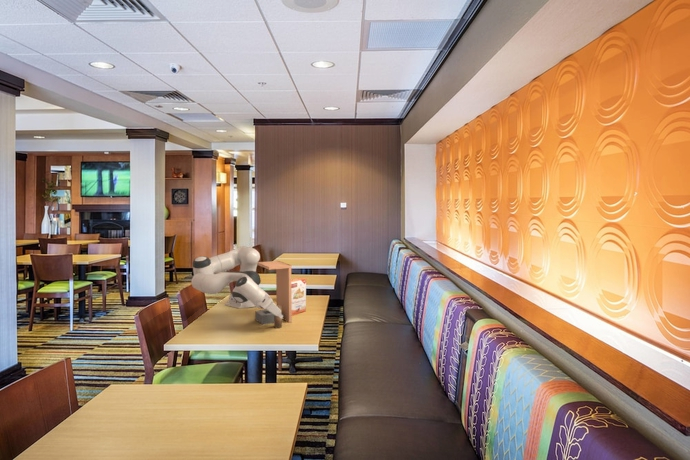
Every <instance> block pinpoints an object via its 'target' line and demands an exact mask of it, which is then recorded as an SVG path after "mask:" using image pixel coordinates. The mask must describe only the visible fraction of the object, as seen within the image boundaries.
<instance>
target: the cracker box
mask: <svg viewBox="0 0 690 460" xmlns="http://www.w3.org/2000/svg"><path fill="white" fill-rule="evenodd" d="M291 296H292V316H294V315H299V314H301V312H302V313H304V311H305V312H306V311H307V310H306V308H307V279H306V278H303V277H299V278H293V279H291Z"/></svg>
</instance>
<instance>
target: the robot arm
mask: <svg viewBox="0 0 690 460" xmlns="http://www.w3.org/2000/svg"><path fill="white" fill-rule="evenodd" d="M260 260H261V254H260V252H259V251H258V250H257V249H256V248H254V247H251V246H250V247H249V246H244V245H243V246H238V247H237V248H234V249H232V250H230V251H227V252H224V253H221V254H217V255H214V256H211V257H208V256H205V255H204V256H198V257H195V258H194V259H193V260H192V270H193V271H192V273H193V277H191V280H190V281H191V286H192V288H194V289H195V290H197V291H199V292H202V293H204V294H207V295H209V294H210V295H216V294H219V293H220V292H221V291H222V290H223V289H224V288H226V287H227V286H228V285H229V284H231V283H233V282H236V283H235V287H234V288H233V290H232V291H231V294H230V295H229V297H228V301H227V302H225V303H224V305H225V306H228V307H232V308H236V309H244V308H247V309H248V308H254V307H256V308H258V309H261V310H268V311H269V312H271V313H272V314H274V315H275V316H279V317H280V318H281V319H282V320H283V315H282V314H281V310H280V309H279V308H278V307H277V306H276V305H277V303H275V302H274V301H273V299H272V298H271V295H269V294H268V292H266V291H265V290H264V289H262V288H261V287H260V286H259V285H260V284H261V282H262V280H261V275H260V274H259V273H258V272H257V267H258V265H257V262H260ZM239 265H240V269H239V270H237V271H235V270H233V269H234V268H235V267H237V266H239Z"/></svg>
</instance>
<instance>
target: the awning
mask: <svg viewBox="0 0 690 460" xmlns="http://www.w3.org/2000/svg"><path fill="white" fill-rule="evenodd" d="M257 266H259V267H261V268H265V269H267V270H268V271H269V270H270V271H271V270H276V272H275V275H276V277H275V278H276V279H275V282H276V284H275V285H276V287H275V288H276V296H275V297H276V305H281V306H282V315H283V318H282V320H285V321H286V322H287V323H289V324H290V323H293V320H292V319H293V315H292V296H291V280H292V265H291V264H289V263H286V262H283V261H280V260H273V261H258V262H257Z"/></svg>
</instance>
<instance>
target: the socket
mask: <svg viewBox="0 0 690 460" xmlns="http://www.w3.org/2000/svg"><path fill="white" fill-rule="evenodd" d="M254 313H255V315H254V319H255V321H256V322H258V323H259V324H261V325H268V324H269V325H270V324H274V314H272V313H271V312H269V311H268V310H266V309H260V310H255V311H254Z"/></svg>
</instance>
